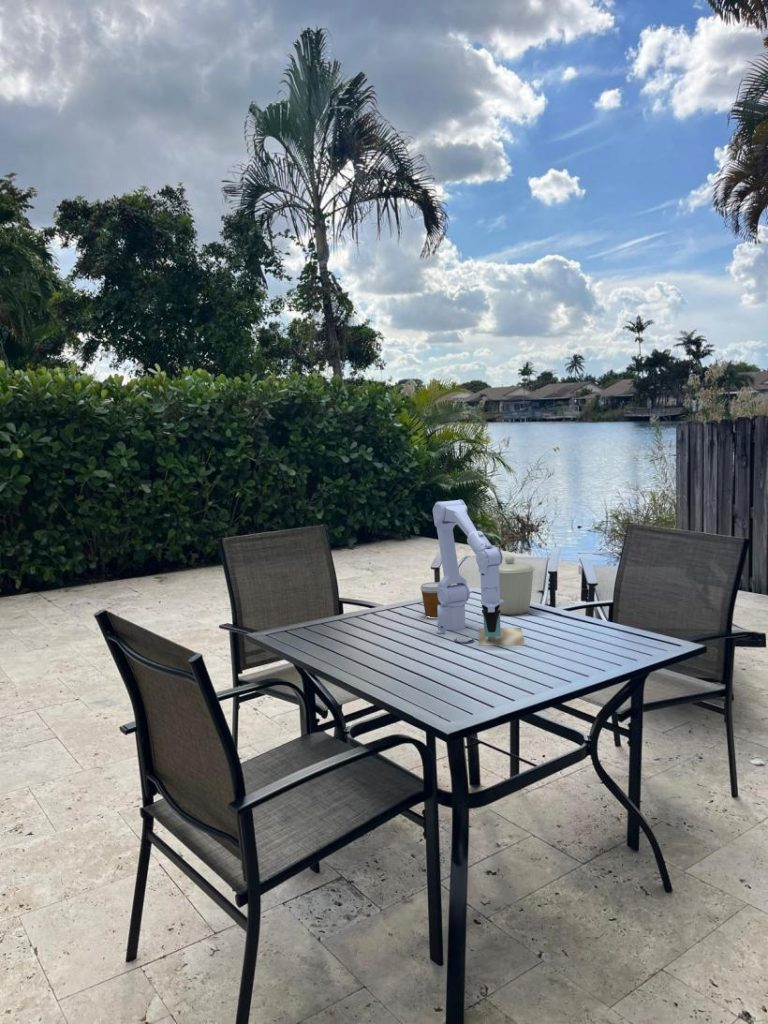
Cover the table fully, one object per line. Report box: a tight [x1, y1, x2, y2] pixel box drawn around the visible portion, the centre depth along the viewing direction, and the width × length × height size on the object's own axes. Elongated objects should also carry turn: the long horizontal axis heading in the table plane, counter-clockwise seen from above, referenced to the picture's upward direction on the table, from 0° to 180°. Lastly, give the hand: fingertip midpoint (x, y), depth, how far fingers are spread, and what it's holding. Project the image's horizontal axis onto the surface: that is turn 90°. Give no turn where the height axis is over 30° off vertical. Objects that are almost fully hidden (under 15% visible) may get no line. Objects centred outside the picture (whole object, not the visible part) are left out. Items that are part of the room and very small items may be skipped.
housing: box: [482, 614, 501, 637], centre depth 227 cm, size 5×5×6 cm
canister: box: [498, 554, 536, 616], centre depth 268 cm, size 18×18×21 cm
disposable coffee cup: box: [420, 581, 441, 617], centre depth 266 cm, size 10×10×12 cm
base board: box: [478, 627, 526, 646], centre depth 232 cm, size 14×20×5 cm
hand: (491, 629), depth 228 cm, fingers closed on housing, 5 cm apart
